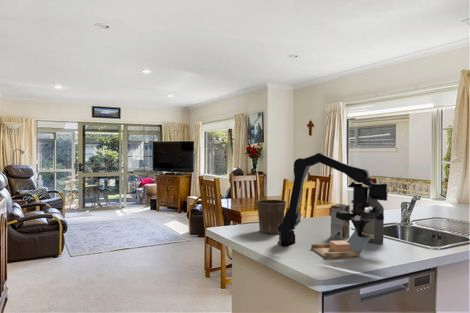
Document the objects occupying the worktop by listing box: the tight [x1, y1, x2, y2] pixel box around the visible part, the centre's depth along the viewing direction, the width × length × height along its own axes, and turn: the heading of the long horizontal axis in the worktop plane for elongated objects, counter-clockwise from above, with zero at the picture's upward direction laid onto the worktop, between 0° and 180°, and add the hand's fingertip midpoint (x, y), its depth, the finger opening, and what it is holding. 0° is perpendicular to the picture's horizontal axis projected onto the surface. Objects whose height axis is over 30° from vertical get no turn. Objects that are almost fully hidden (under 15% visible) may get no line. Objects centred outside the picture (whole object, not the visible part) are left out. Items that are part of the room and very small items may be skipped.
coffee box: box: [330, 203, 351, 240], centre depth 173 cm, size 9×6×16 cm
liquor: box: [362, 177, 385, 245], centre depth 165 cm, size 9×9×30 cm
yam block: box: [329, 239, 350, 252], centre depth 144 cm, size 6×6×4 cm
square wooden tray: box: [310, 242, 360, 260], centre depth 143 cm, size 14×14×3 cm
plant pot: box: [255, 199, 287, 235], centre depth 185 cm, size 16×16×16 cm
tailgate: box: [346, 230, 370, 255], centre depth 145 cm, size 10×11×1 cm
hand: (359, 236), depth 145 cm, fingers closed
